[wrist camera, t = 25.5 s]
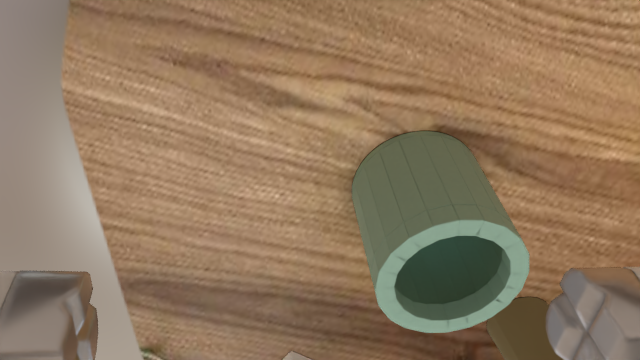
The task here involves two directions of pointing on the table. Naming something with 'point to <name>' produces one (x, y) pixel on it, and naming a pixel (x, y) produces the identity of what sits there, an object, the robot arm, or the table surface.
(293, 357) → the white cube
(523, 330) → the brown pawn
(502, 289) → the jar
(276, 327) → the table surface
